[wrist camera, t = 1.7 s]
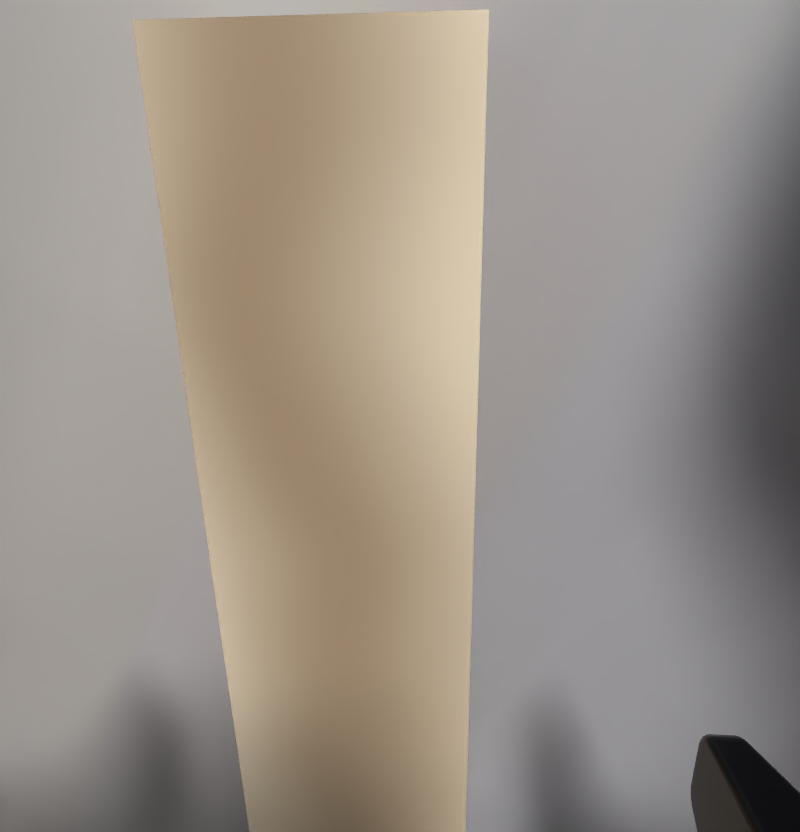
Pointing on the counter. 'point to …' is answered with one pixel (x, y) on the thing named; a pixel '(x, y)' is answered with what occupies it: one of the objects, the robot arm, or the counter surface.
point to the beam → (332, 389)
